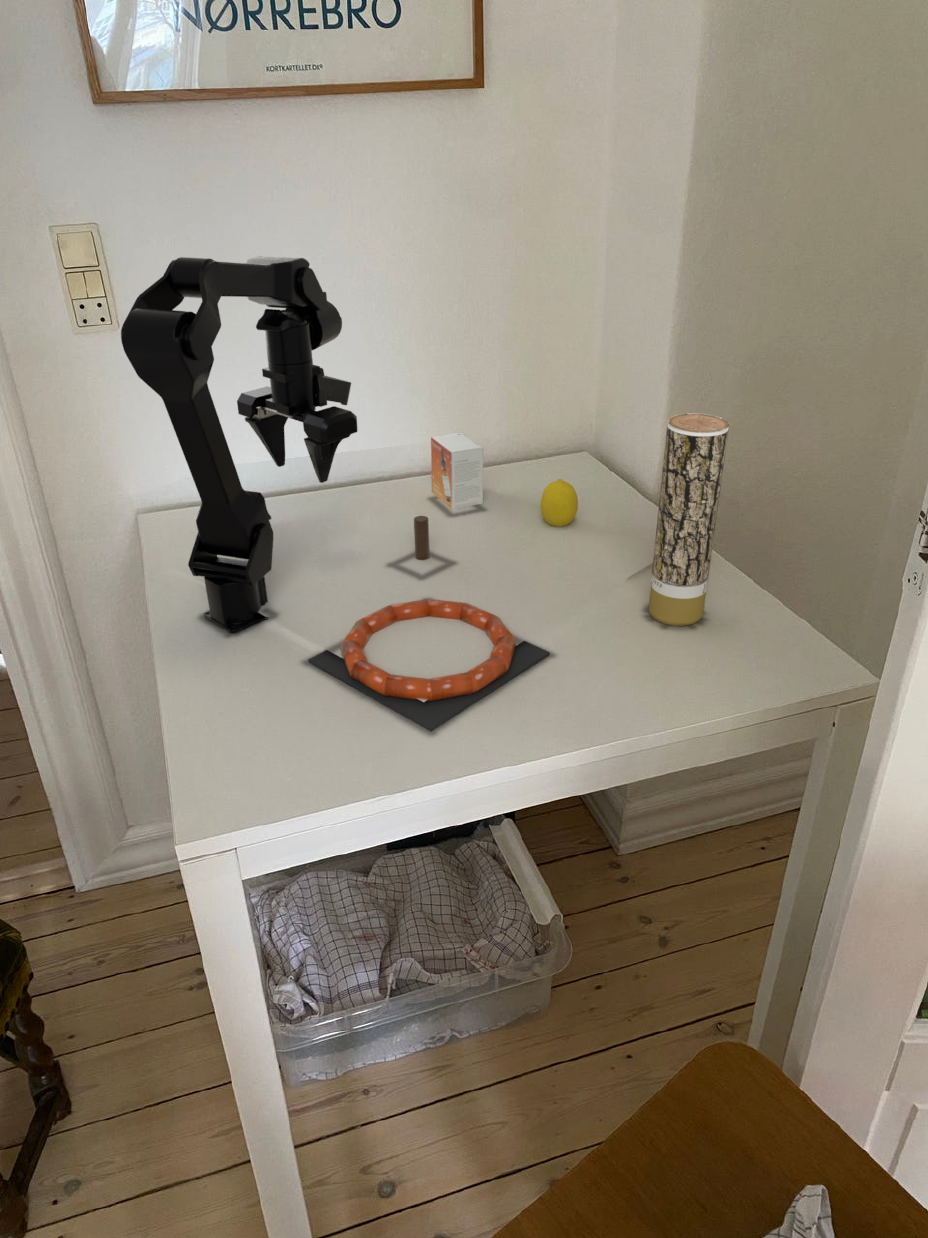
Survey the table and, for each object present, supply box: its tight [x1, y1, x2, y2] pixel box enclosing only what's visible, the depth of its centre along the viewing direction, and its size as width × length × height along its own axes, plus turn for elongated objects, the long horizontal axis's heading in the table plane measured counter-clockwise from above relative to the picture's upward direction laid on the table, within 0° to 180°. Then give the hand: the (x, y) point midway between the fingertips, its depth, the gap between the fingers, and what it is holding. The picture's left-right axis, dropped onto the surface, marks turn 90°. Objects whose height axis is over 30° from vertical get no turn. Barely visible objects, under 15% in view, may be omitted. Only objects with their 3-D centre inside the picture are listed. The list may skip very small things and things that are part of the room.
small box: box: [430, 431, 485, 510], centre depth 145 cm, size 8×6×10 cm
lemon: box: [539, 478, 579, 528], centre depth 137 cm, size 6×6×8 cm
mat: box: [307, 640, 550, 732], centre depth 108 cm, size 20×20×1 cm
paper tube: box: [648, 412, 730, 627], centre depth 110 cm, size 7×7×25 cm
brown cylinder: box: [413, 515, 431, 561], centre depth 128 cm, size 6×6×7 cm
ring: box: [340, 598, 517, 701], centre depth 107 cm, size 20×20×2 cm
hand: (301, 473), depth 127 cm, fingers open, 9 cm apart
